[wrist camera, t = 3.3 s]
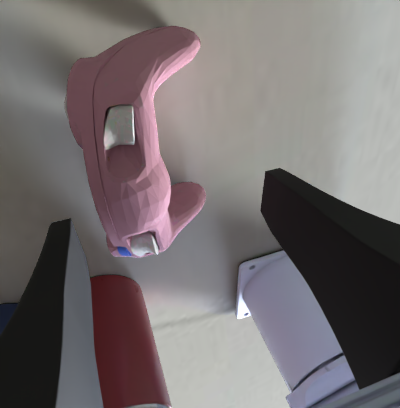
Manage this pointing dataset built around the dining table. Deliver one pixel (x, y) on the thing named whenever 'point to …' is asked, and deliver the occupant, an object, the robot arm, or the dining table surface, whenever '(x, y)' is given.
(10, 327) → the robot arm
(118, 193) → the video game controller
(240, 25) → the dining table surface
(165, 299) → the dining table surface
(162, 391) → the tin can burgundy
